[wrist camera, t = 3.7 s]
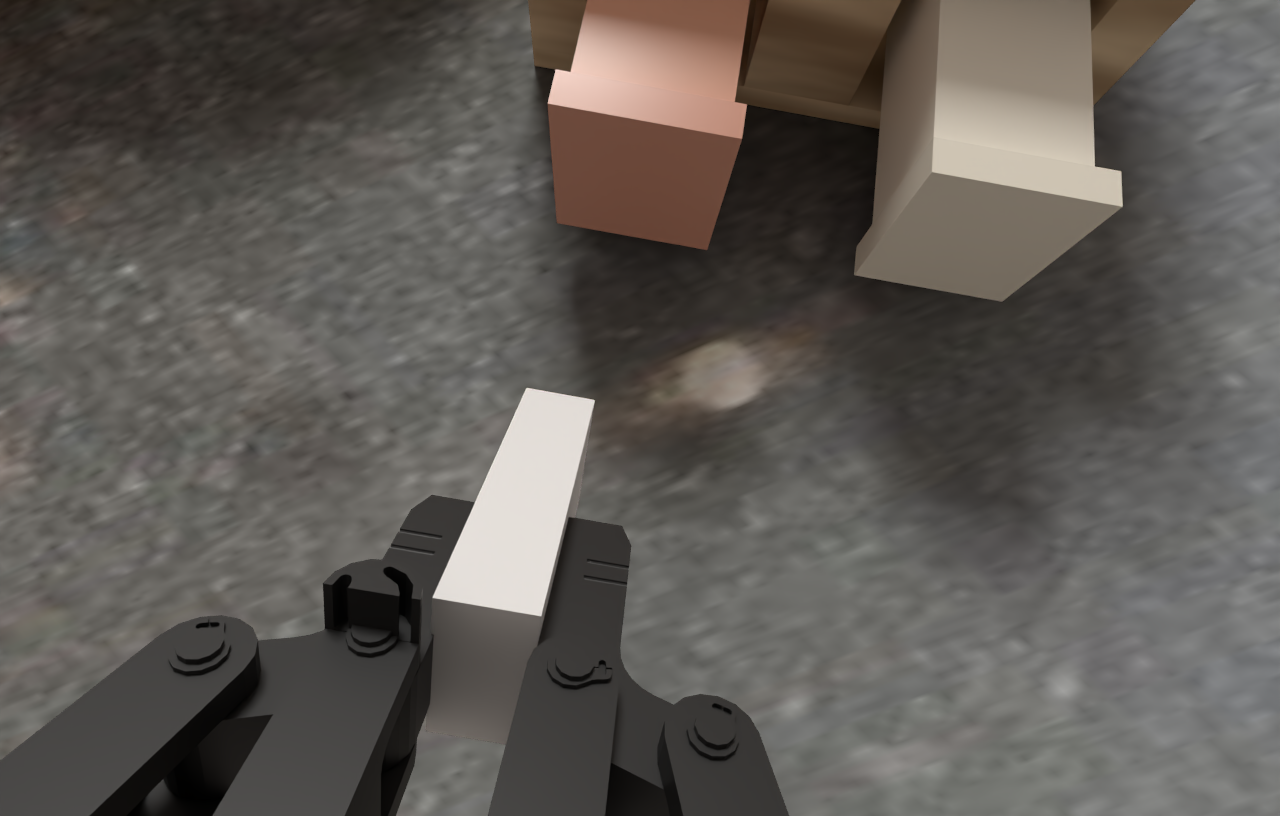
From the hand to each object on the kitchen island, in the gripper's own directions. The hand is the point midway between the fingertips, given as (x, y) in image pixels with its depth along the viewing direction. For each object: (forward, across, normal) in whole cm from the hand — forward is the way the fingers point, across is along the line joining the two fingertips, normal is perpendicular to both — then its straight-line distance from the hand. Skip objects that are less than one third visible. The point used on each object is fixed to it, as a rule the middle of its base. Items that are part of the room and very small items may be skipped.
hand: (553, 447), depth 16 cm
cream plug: (+19, +12, +8) cm, 24 cm away
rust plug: (+19, +1, +8) cm, 20 cm away
